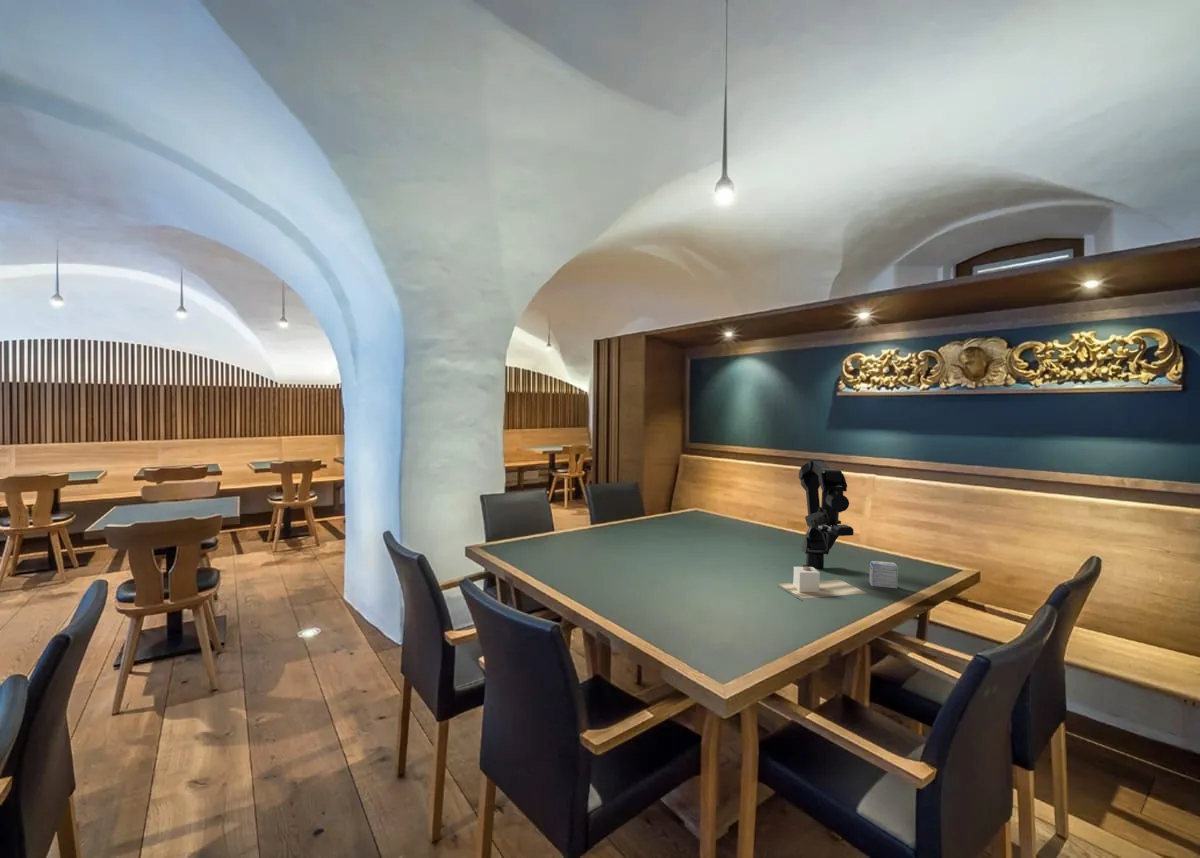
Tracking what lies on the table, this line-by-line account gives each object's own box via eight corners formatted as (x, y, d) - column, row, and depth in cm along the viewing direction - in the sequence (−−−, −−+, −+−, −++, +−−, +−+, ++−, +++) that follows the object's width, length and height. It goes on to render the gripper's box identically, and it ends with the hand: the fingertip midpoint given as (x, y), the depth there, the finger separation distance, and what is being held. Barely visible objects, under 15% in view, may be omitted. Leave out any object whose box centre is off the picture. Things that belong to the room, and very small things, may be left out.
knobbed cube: (799, 592, 178) (800, 570, 178) (793, 585, 184) (793, 564, 184) (819, 592, 178) (819, 571, 177) (812, 585, 184) (813, 565, 184)
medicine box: (894, 587, 188) (895, 562, 187) (897, 591, 183) (898, 566, 183) (868, 584, 190) (869, 560, 189) (871, 589, 185) (872, 564, 185)
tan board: (778, 586, 186) (778, 573, 186) (839, 582, 192) (839, 569, 192) (801, 601, 173) (802, 587, 173) (867, 596, 178) (867, 582, 178)
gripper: (794, 500, 198) (793, 543, 199) (825, 512, 180) (823, 558, 181) (822, 499, 200) (820, 541, 201) (855, 511, 182) (853, 556, 183)
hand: (828, 549), depth 192 cm, fingers closed
